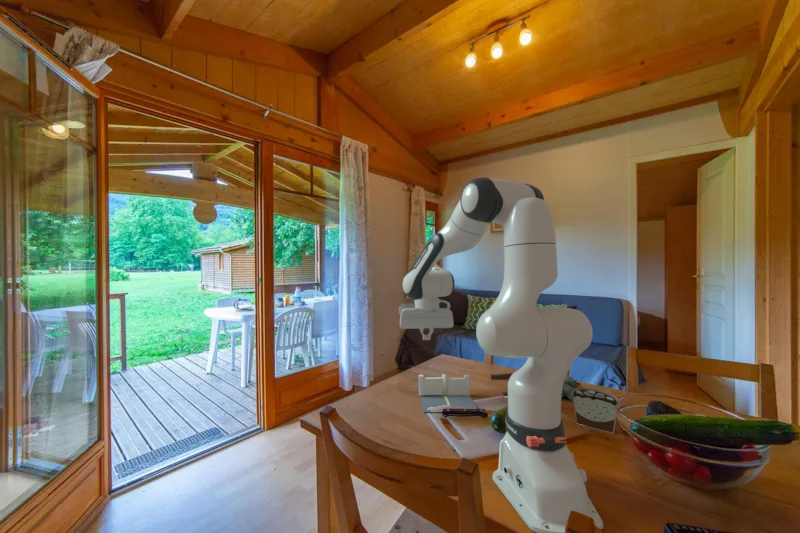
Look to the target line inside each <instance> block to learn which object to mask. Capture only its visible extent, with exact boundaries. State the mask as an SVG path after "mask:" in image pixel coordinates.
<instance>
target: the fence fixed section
mask: <svg viewBox="0 0 800 533" xmlns="http://www.w3.org/2000/svg"><path fill="white" fill-rule="evenodd" d="M447 386H448V395H449V396H456V395H470V375H469V374H463V377H447Z"/></svg>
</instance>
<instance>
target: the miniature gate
mask: <svg viewBox="0 0 800 533" xmlns="http://www.w3.org/2000/svg"><path fill="white" fill-rule="evenodd" d="M513 373H514V372H505V373H503V372H502V373H492V374H490V380H492V381H493V380H495V381H496V380H498V381H499V380H504V381H505V380H508V381H509V379H510V377H511V375H512V374H513ZM577 385H579V386H580V385H581V383H580V382H578V381H577V379H574V378H573V377H571V376H570V375H569V374H567V375H566V377H565V380H564V383H563V388H562V397H561V398H564V397H566V398H567V399H568V400H570V401H571V402H572V403H574V401H573V396H572V397H571V393H572V392H573V390H574V389H576V388H577ZM504 396H508V391H503V397H504Z"/></svg>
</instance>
